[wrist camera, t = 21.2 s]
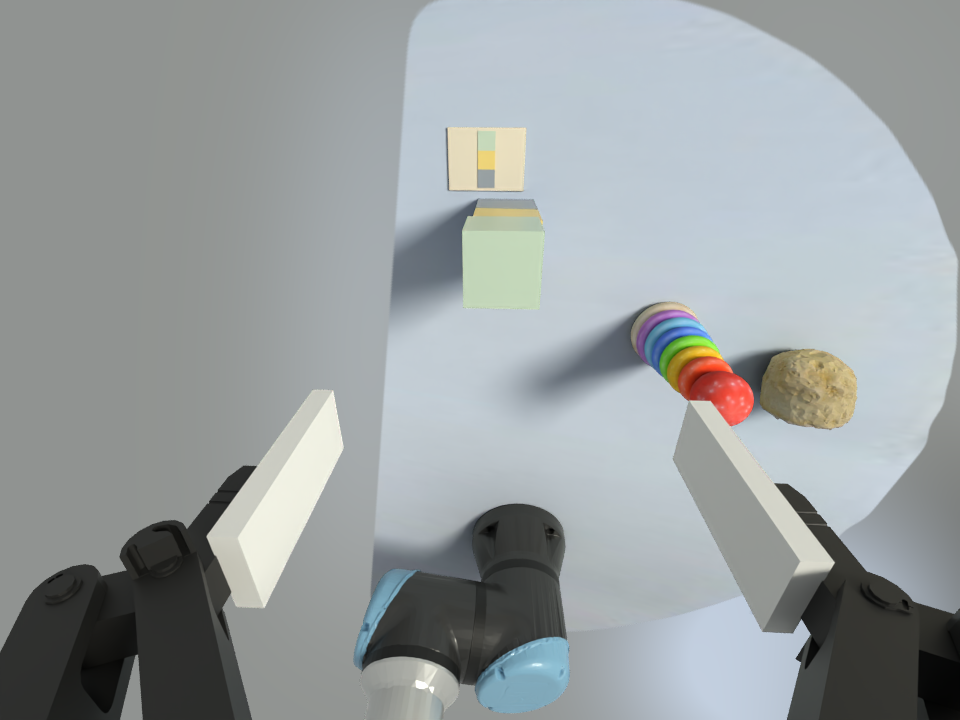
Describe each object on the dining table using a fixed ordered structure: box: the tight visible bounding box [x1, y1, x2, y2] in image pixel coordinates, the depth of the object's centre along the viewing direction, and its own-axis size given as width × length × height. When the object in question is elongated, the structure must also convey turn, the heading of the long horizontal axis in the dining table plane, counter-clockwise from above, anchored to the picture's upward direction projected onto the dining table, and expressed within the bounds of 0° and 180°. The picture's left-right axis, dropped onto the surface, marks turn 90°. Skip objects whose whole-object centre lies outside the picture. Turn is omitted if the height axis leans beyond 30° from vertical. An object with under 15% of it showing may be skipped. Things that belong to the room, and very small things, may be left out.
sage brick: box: [462, 216, 545, 309], centre depth 35 cm, size 6×6×6 cm
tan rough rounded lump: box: [760, 349, 857, 430], centre depth 52 cm, size 10×10×10 cm
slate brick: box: [476, 199, 538, 209], centre depth 46 cm, size 6×6×6 cm
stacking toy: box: [631, 302, 754, 426], centre depth 45 cm, size 8×8×19 cm
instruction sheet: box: [448, 127, 526, 191], centre depth 45 cm, size 6×8×1 cm
